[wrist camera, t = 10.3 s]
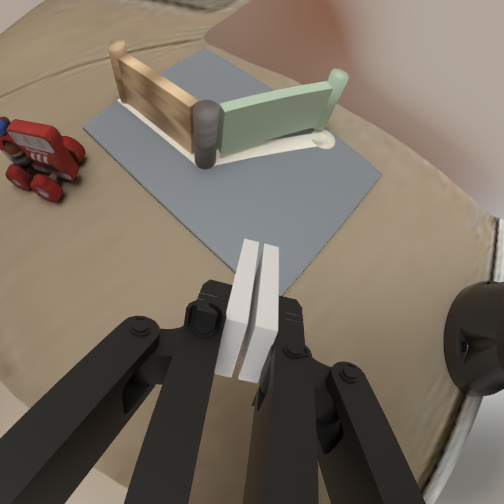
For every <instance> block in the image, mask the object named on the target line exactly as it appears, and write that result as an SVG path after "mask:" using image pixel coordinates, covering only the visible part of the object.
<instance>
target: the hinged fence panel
mask: <svg viewBox="0 0 504 504" xmlns="http://www.w3.org/2000/svg"><path fill="white" fill-rule="evenodd" d="M348 79H349V76H348V74H347V73H346V72H344V71H343V70H340V69H333V70H332V72H331V74H330V76H329V78H328V81H326V82H319V83H313V84H307V85H301V86H295V87H290V88H285V89H280V90H275V91H270V92H266V93H261V94H257V95H252V96H248V97H244V98H240V99H236V100H232V101H228V102H224V103H221V104H220V107H219V122H218V137H217V148H218V150H219V152H220V154H224V153H227V152H230V151H233V150H236V149H239V148H243V147H246V146H249V145H252V144H256V143H259V142H262V141H266V140H269V139H273V138H276V137H280V136H283V135H287V134H290V133H294V132H298V131H302V130H305V129H309V128H313V129H315V130H318V131H320V130H323V129H324V128H325V126H326V124H327V122H328V120H329V117H330V115H331V113H332V111H333V109H334V107H335V105H336V103H337V101H338V99H339V97H340V95H341V93H342V91H343V89H344V87H345V85H346V83H347V81H348Z"/></svg>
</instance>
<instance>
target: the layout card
mask: <svg viewBox="0 0 504 504" xmlns="http://www.w3.org/2000/svg"><path fill="white" fill-rule="evenodd" d="M159 74H160V75H161V76H163V77H164V78H166V79H168V80H169V81H171V82H172V83H174V84H175V85H177V86H178V87H180V88H181V89H183V90H184V91H185V92H187V93H188V94H190V95H191V96H193V97H194V98H196V99H197V100H199V101H202V100H211V101H214V102H216V103H217V104H218V105H219V107H220V104H221V103H224V102H228V101H232V100H236V99H240V98H244V97H248V96H252V95H257V94H261V93H266V92H270V91H274V90H273V89H271V88H270V87H268V86H267V85H265V84H264V83H262V82H261V81H259V80H258V79H256V78H254V77H253V76H251V75H250V74H248V73H246V72H245V71H243V70H242V69H240V68H238V67H237V66H235V65H233V64H232V63H230V62H228V61H227V60H225V59H223V58H221V57H220V56H218V55H216V54H214V53H213V52H211V51H209V50H207V49H203V50H201V51H199V52H197V53H195V54H193V55H191V56H189V57H187V58H186V59H184V60H182V61H180V62H178V63H177V64H175V65H173V66H171V67H170V68H168V69H166V70H164V71H163V72H161V73H159ZM82 127H83V129H84V130H85V131H86V132H87V133H88V134H89V135H90V136H91V137H92V138H93V139H94V140H95V141H97V142H98V143H99V144H100V145H101V146H102V147H103V148H104V149H105V150H106V151H107V152H108V153H109V154H110V155H111V156H112V157H113V158H114V159H115V160H116V161H117V162H118V163H119V164H120V165H121V166H122V167H123V168H124V169H125V170H126V171H127V172H128V173H129V174H130V175H131V176H132V177H133V178H134V179H136V180H137V181H138V182H139V183H140V184H141V185H142V186H143V187H144V188H145V189H146V190H147V191H148V192H149V193H150V194H151V195H152V196H153V197H154V198H155V199H156V200H157V201H159V202H160V203H161V204H162V205H163V206H164V207H165V208H166V209H167V210H168V211H169V212H170V213H171V214H172V215H173V216H174V217H175V218H177V219H178V220H179V221H180V222H181V223H182V224H183V225H184V226H185V227H186V228H187V229H188V230H189V231H190V232H191V233H193V234H194V235H195V236H196V237H197V238H198V239H199V240H200V241H201V242H202V243H203V244H204V245H205V246H207V247H208V248H209V249H210V250H211V251H212V252H213V253H214V254H215V255H216V256H217V257H218V258H220V259H221V260H222V261H223V262H224V263H225V264H226V265H227V266H228V267H229V268H230V269H232V270H233V271H234V272H235V273H236V270H237V266H238V262H239V258H240V254H241V250H242V246H243V242H244V239H248V240H252V241H256V242H259V247H258V255H257V262H256V269H255V274H256V271H257V267H258V264H259V260H260V257H261V253H262V249H263V246H264V244H268V245H272V246H276V247H279V296H282V295H283V294H284V292H285V291H286V290H287V289H288V288H289V287H290V286H291V284H292V283H293V282H294V281H295V280H296V279H297V277H298V276H299V275H300V274H301V273H302V272H303V270H304V269H305V268H306V267H307V266H308V265H309V263H310V262H311V261H312V260H313V259H314V258H315V256H316V255H317V254H318V253H319V252H320V250H321V249H322V248H323V247H324V246H325V244H326V243H327V242H328V241H329V240H330V238H331V237H332V236H333V235H334V234H335V232H336V231H337V230H338V229H339V228H340V226H341V225H342V224H343V223H344V221H345V220H346V219H347V218H348V217H349V215H350V214H351V213H352V212H353V210H354V209H355V208H356V207H357V205H358V204H359V203H360V202H361V200H362V199H363V198H364V197H365V195H366V194H367V193H368V192H369V190H370V189H371V188H372V187H373V185H374V184H375V183H376V181H377V180H378V179H379V178H380V176H381V175H382V173H380V172H379V171H378V170H377V169H376V168H375V167H374V166H372V165H371V164H370V163H369V162H368V161H367V160H365V159H364V158H363V157H362V156H361V155H360V154H358V153H357V152H356V151H355V150H354V149H352V148H351V147H350V146H349V145H347V144H346V143H345V142H344V141H342V140H341V139H340V138H339V137H337V136H336V135H335V134H334V133H332V132H331V131H330V130H328V129H327V128H326V127H325V128H324V129H323V130H320V131H318V130H315V129H313V128H309V129H305V130H302V131H298V132H294V133H290V134H287V135H283V136H280V137H276V138H273V139H269V140H266V141H262V142H259V143H256V144H252V145H249V146H246V147H243V148H239V149H236V150H233V151H230V152H227V153H224V154H220V152H219V150H218V148H217V153H216V163H215V164H214V166H213V167H212V168H210V169H201V168H199V167H198V166H197V165H196V164H195V157H194V154H192V155H191V154H190V153H189V152H187V151H186V150H185V149H184V148H183V147H181V146H180V145H179V144H178V143H176V142H175V141H174V140H173V139H172V138H170V137H169V136H168V135H167V134H165V133H164V132H163V131H162V130H160V129H159V128H158V127H157V126H155V125H154V124H153V123H152V122H150V121H149V120H148V119H147V118H145V117H144V116H143V115H142V114H140V113H139V112H138V111H137V110H135V109H134V108H133V107H132V106H130V105H129V104H124V103H122V102H121V99H118V100H117V101H116V102H115V103H113V104H112V105H110V106H109V107H108V108H106V109H105V110H103V111H102V112H101V113H99V114H98V115H97V116H95V117H94V118H93V119H91V120H90V121H89V122H87V123H86V124H85V125H84V126H82ZM254 278H255V276H254Z"/></svg>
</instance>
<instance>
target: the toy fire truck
mask: <svg viewBox="0 0 504 504" xmlns="http://www.w3.org/2000/svg"><path fill="white" fill-rule="evenodd" d="M0 149H1V151H2V152H3V153H4V154H5V155H6V156H7V157H8V158H9V160H11V161H12V162H13V163H14V164H11V165H10V166H9V168H8V169H7V171H6V173H5V175H6V177H7V179H8V180H9V181H11V182H12V183H13V184H14V185H16V186H18V187H19V188H21V189H24V190H29V189H30V188H32V190H33V191H34V192H35V193H37V194H38V195H39V196H41V197H43V198H44V199H46V200H48V201H51V202H57V201H58V200H59V198H60V196H61V195H62V192H63V190H62V188H61V186H60V185H59V184H58V183H56V182H55V181H56V179H57V178H60V179H62V178H64V179H68V180H74V179H75V177H76V175H77V173H78V171H79V167H78V165H77V164H79V163H80V162H81V161H82V159H83V157H84V156H85V149H84V147H83V146H82V145H81V144H80V143H79V142H78V141H76V140H75V139H73V138H71V137H68V136H61V134H60V133H59V131H58V130H57V129H56V128H55V127H53V126H50V125H44V124H39V123H34V122H28V121H23V120H17V119H15V120H13V121H12V122H10V121H9V119H8V118H6V117H0ZM29 169H31V170H34V169H35V170H38V171H42V172H45V173H49V174H50V175H49V177H47V176H45V175H41V174H36V175H35V176H34V178H33V177H32V175H31V174H29V173H28V172H27V171H28V170H29Z"/></svg>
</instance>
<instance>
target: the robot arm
mask: <svg viewBox="0 0 504 504" xmlns="http://www.w3.org/2000/svg"><path fill="white" fill-rule="evenodd" d="M258 247H259V242H256V241H252V240H248V239H244V242H243V246H242V250H241V254H240V258H239V262H238V266H237V270H236V274H235V278H234V282H233V285H230V284H226V283H222V282H218V281H214V280H209V281H207V282H206V283H205V284H203V286H202V288H201V291H200V293H199V296H198V299H197V300H196V301H193V302H191V303H189V305H188V306H187V307H186V314H185V321H184V326H182V327H180V328H176V329H159V326H158V324H157V323H156V322H155V321H154V320H152V319H151V318H148V317H145V316H133V317H129V318H127V319H126V320H124V321H123V322H122V323H121V324H120V325H118V326H117V327H116V328H115V329H114V330H113V331H112V332H111V333H110V334H109V335H108V336H106V337H105V338H104V339H103V340H102V341H101V342H100V343H99V344H98V345H97V346H96V347H95V348H93V349H92V350H91V351H90V352H89V353H88V354H87V355H86V356H85V357H84V358H83V359H82V360H81V361H80V362H78V363H77V364H76V365H75V366H74V367H73V368H72V369H71V370H70V371H69V372H68V373H67V374H66V375H65V376H64V377H63V378H62V379H60V380H59V381H58V382H57V383H56V384H55V385H54V386H53V387H52V388H51V389H50V390H49V391H48V392H47V393H46V394H45V395H44V396H43V397H42V398H41V399H40V400H39V401H38V402H37V403H36V404H35V405H34V406H33V407H32V408H30V409H29V410H28V412H26V413H25V415H23V416H22V417H21V418H20V420H19V421H17V422H16V423H15V424H14V425H13V426H12V427H11V428H10V429H9V430H8V431H7V433H5V434H4V435H3V436H2V437H1V438H0V504H65V502H66V501H67V500H68V498H69V497H70V496H71V495H72V493H73V492H74V491H75V489H76V488H77V487H78V486H79V484H80V483H81V482H82V480H83V479H84V478H85V477H86V475H87V474H88V473H89V471H90V470H91V469H92V468H93V466H94V465H95V464H96V462H97V461H98V460H99V458H100V457H101V456H102V455H103V453H104V452H105V451H106V449H107V448H108V447H109V445H110V444H111V443H112V442H113V440H114V439H115V438H116V436H117V435H118V434H119V433H120V431H121V430H122V429H123V427H124V426H125V425H126V423H127V422H128V421H129V420H130V418H131V417H132V416H133V414H134V413H135V412H136V410H137V409H138V408H139V406H140V405H141V404H142V403H143V401H144V400H145V399H146V397H147V396H148V395H149V393H150V392H151V391H152V390H153V388H154V387H155V385H156V384H162V388H161V391H160V394H159V397H158V399H157V402H156V405H155V408H154V411H153V414H152V417H151V420H150V423H149V426H148V429H147V432H146V435H145V438H144V441H143V444H142V447H141V450H140V453H139V457H138V460H137V463H136V466H135V469H134V472H133V475H132V479H131V482H130V485H129V488H128V492H127V495H126V498H125V502H124V504H188V502H189V497H190V491H191V486H192V481H193V476H194V471H195V466H196V461H197V456H198V451H199V445H200V440H201V435H202V430H203V425H204V421H205V416H206V411H207V406H208V401H209V396H210V391H211V386H212V381H213V376H214V374H217V375H222V376H226V377H230V378H231V377H232V374H233V370H234V367H235V364H236V361H237V357H238V354H239V351H240V348H241V344H242V341H243V338H244V342H243V349H242V356H241V362H240V369H239V375H238V379H239V380H244V381H248V382H253V383H258V381H259V379H260V386H259V388H258V391H257V393H256V396H255V398H254V400H253V403H252V405H251V406H255V409H254V418H253V426H252V435H251V443H250V451H249V460H248V468H247V476H246V483H245V491H244V499H243V504H318V462H319V466H320V469H321V472H322V475H323V479H324V482H325V485H326V488H327V492H328V495H329V498H330V501H331V504H426V503H425V501H424V499H423V496H422V494H421V492H420V490H419V487H418V485H417V483H416V481H415V478H414V476H413V474H412V472H411V470H410V467H409V465H408V463H407V461H406V459H405V456H404V454H403V452H402V450H401V448H400V446H399V444H398V442H397V439H396V437H395V435H394V433H393V431H392V429H391V427H390V425H389V423H388V421H387V419H386V417H385V414H384V412H383V410H382V408H381V406H380V404H379V402H378V400H377V398H376V396H375V394H374V392H373V390H372V388H371V386H370V384H369V382H368V380H367V378H366V376H365V374H364V373H363V372H362V370H361V369H360V368H358V367H357V366H356V365H354V364H352V363H349V362H338V363H336V364H334V365H333V366H332V368H331V367H329V366H326V365H324V364H322V363H320V362H318V361H316V360H315V359H313V358H312V354H311V351H310V350H309V348H308V347H307V346H306V345H305V338H304V326H303V317H302V316H303V315H302V307H301V306H300V304H299V303H298V301H297V300H296V299H291V298H287V297H283V296H279V247H276V246H272V245H268V244H264V246H263V249H262V253H261V257H260V260H259V264H258V267H257V271H256V274H255V269H256V262H257V255H258ZM254 276H255V278H254ZM445 356H446V362H447V366H448V369H449V372H450V375H451V377H452V379H453V381H454V382H455V384H456V385H457V386H458V387H459V388H460V389H461V390H462V391H463V392H465V393H467V394H469V395H477V396H487V395H492V394H495V393H497V392H499V391H501V390H502V389H504V282H499V283H498V282H495V281H482V282H479V283H476V284H473V285H471V286H468V287H467V288H465V289H464V290H463V291H462V292H461V293H460V294H459V295H458V296H457V298H456V299H455V301H454V302H453V304H452V307H451V309H450V312H449V315H448V318H447V323H446V328H445ZM260 376H261V378H260ZM317 459H318V460H317Z"/></svg>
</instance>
